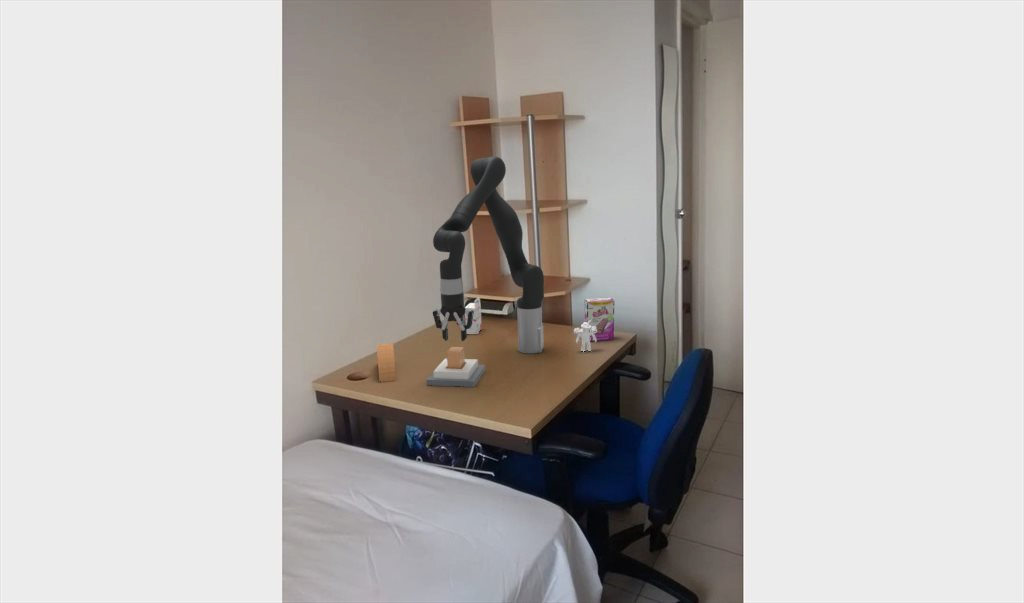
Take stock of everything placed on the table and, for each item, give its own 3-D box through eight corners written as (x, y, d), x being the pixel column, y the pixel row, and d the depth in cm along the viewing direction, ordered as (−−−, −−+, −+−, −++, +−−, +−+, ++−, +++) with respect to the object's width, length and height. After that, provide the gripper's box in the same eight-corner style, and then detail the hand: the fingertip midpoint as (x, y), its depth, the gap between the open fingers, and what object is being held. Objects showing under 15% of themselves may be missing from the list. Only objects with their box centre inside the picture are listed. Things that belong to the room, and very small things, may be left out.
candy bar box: (587, 342, 251) (586, 301, 247) (583, 338, 256) (583, 298, 252) (614, 340, 252) (614, 299, 249) (611, 336, 257) (611, 297, 253)
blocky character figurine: (595, 348, 243) (595, 317, 241) (599, 351, 240) (599, 320, 237) (572, 350, 242) (572, 320, 239) (576, 353, 238) (575, 322, 235)
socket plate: (485, 370, 223) (484, 358, 222) (473, 387, 208) (473, 374, 207) (441, 368, 227) (440, 356, 226) (426, 385, 211) (426, 372, 210)
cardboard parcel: (465, 369, 219) (464, 347, 217) (460, 375, 214) (459, 352, 212) (452, 369, 220) (451, 346, 218) (448, 374, 215) (446, 352, 213)
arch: (395, 362, 236) (393, 336, 233) (396, 381, 217) (394, 353, 214) (379, 364, 235) (376, 338, 232) (378, 383, 216) (376, 354, 213)
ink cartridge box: (470, 329, 275) (469, 295, 271) (482, 329, 274) (480, 295, 270) (465, 334, 267) (463, 300, 263) (477, 335, 266) (475, 300, 262)
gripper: (475, 288, 212) (478, 337, 216) (434, 288, 215) (437, 336, 219) (470, 293, 205) (472, 344, 209) (427, 293, 208) (430, 343, 212)
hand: (454, 340), depth 214 cm, fingers open, 5 cm apart
